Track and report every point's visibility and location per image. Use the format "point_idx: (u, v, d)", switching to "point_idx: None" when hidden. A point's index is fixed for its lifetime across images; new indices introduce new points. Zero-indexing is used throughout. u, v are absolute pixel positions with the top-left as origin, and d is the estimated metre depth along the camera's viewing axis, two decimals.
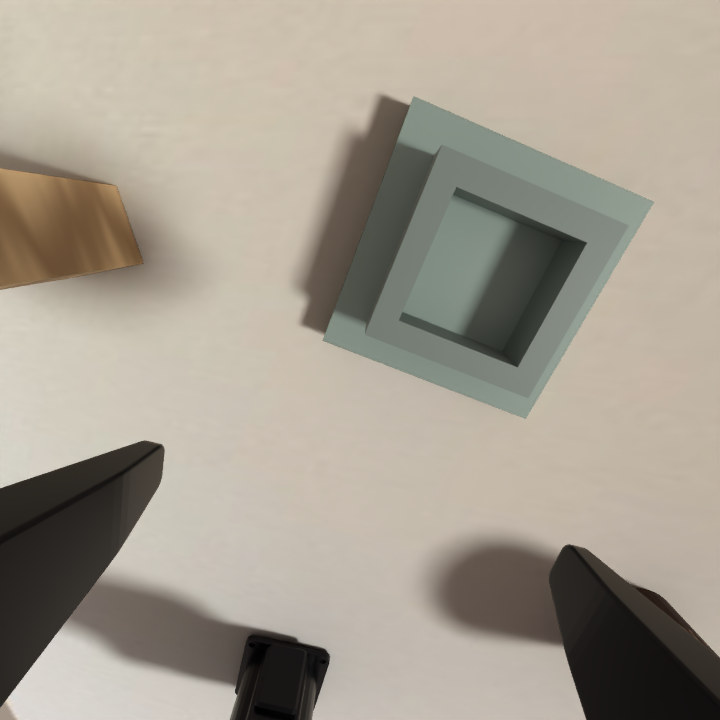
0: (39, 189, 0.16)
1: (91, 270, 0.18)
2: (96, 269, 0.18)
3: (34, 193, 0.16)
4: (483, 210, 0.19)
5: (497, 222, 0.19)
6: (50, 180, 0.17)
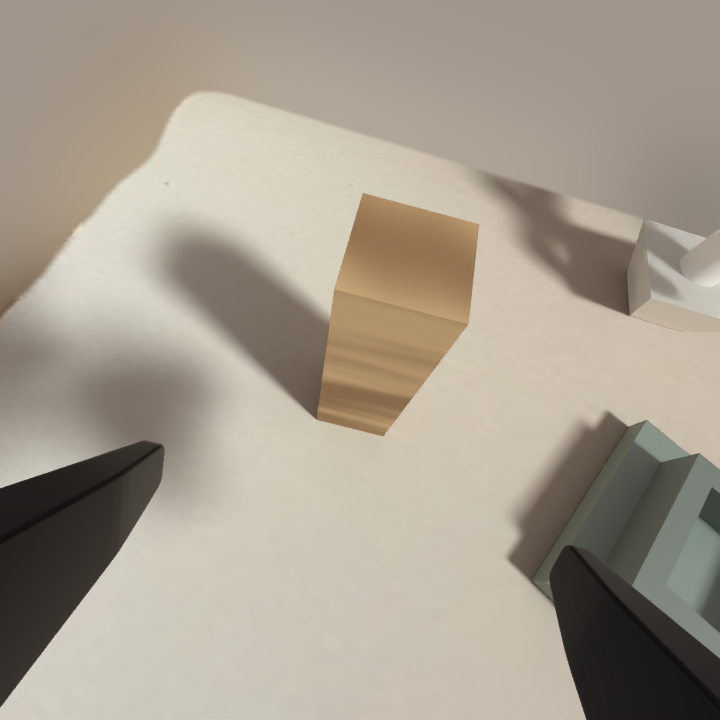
0: None
1: (399, 414, 0.20)
2: None
3: None
4: (701, 520, 0.22)
5: (712, 535, 0.22)
6: None
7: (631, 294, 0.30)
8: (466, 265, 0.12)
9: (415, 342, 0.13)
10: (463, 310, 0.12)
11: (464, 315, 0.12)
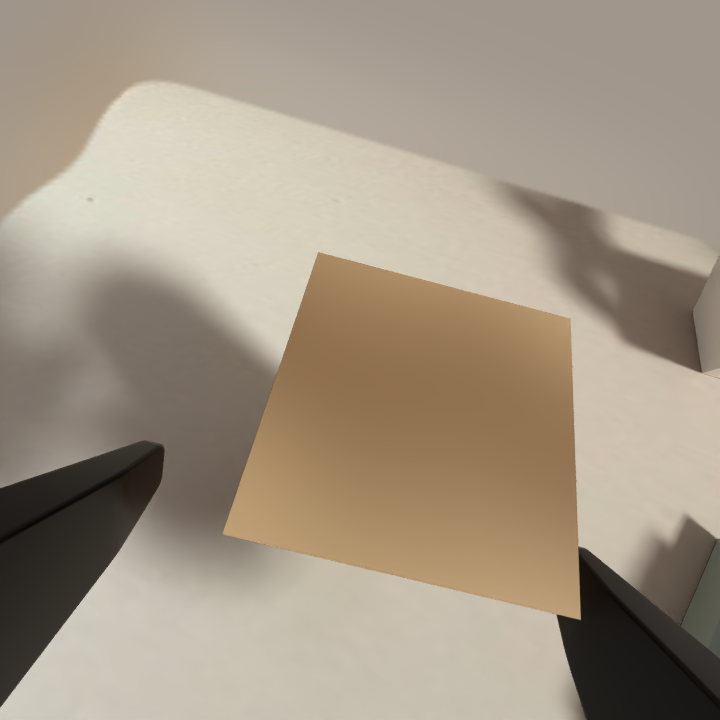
0: None
1: None
2: None
3: None
4: None
5: None
6: None
7: (704, 344, 0.23)
8: (555, 429, 0.05)
9: None
10: (564, 574, 0.05)
11: (567, 589, 0.04)
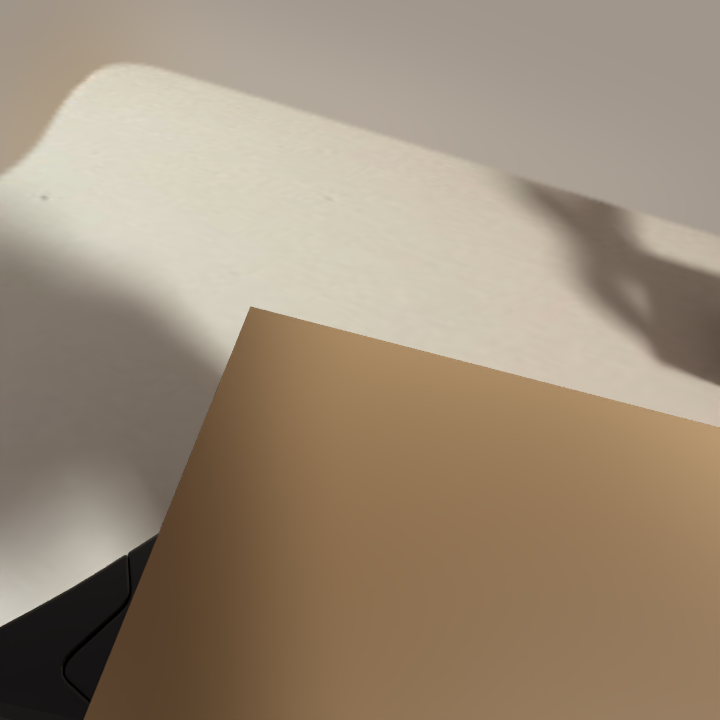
0: None
1: None
2: None
3: None
4: None
5: None
6: None
7: None
8: None
9: None
10: None
11: None
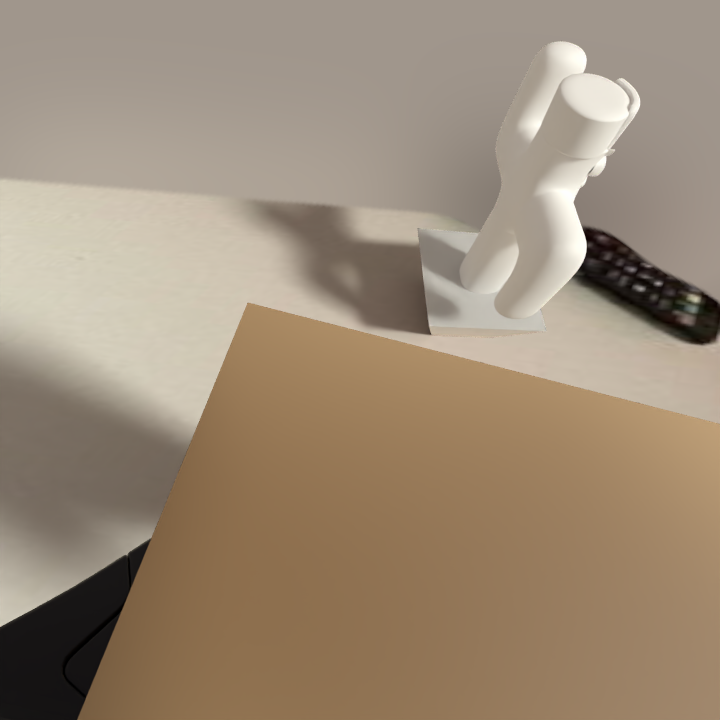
0: None
1: None
2: None
3: None
4: None
5: None
6: None
7: None
8: None
9: None
10: None
11: None
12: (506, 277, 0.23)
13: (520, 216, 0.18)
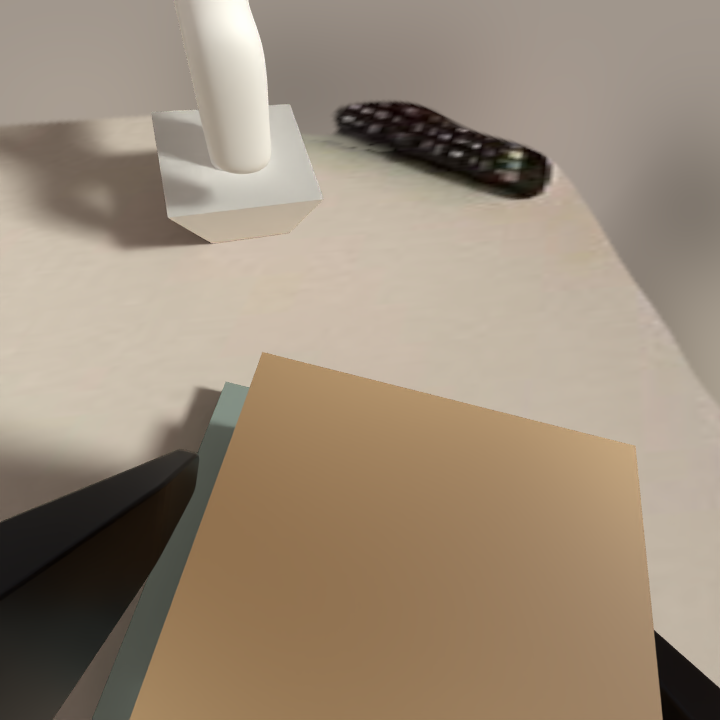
0: None
1: None
2: None
3: None
4: None
5: None
6: None
7: None
8: (627, 654, 0.03)
9: None
10: None
11: None
12: None
13: (180, 16, 0.13)
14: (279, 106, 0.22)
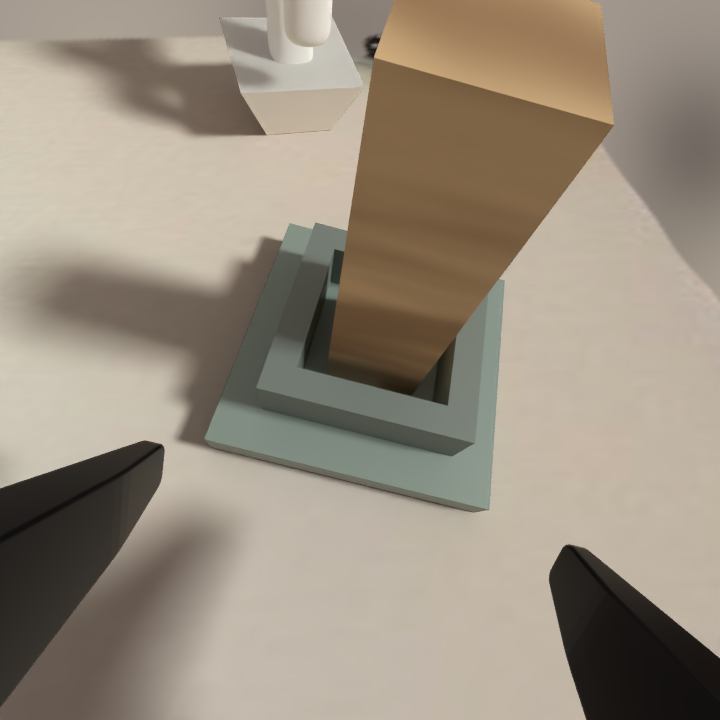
0: None
1: (440, 356, 0.14)
2: (437, 359, 0.15)
3: None
4: None
5: None
6: None
7: None
8: (592, 50, 0.07)
9: (500, 193, 0.08)
10: (602, 105, 0.07)
11: (604, 113, 0.07)
12: None
13: None
14: None
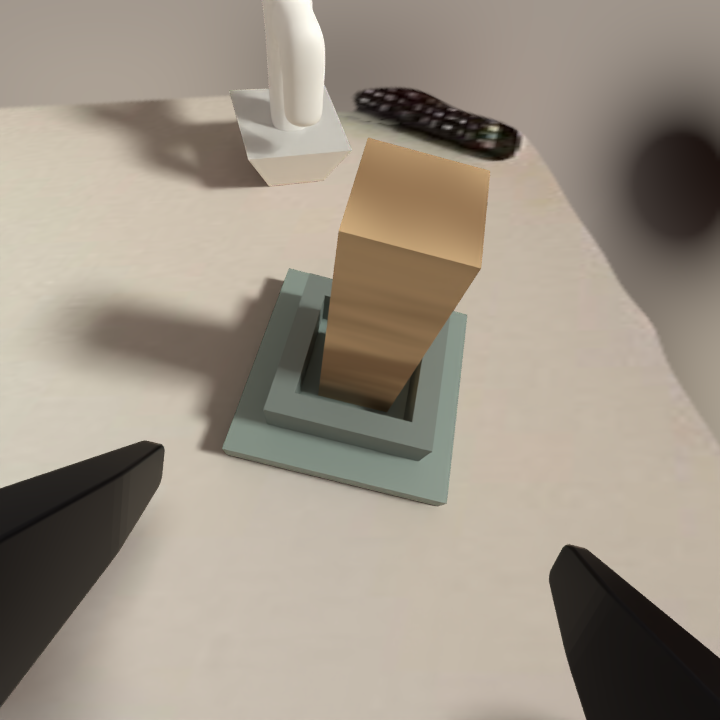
0: None
1: (404, 385, 0.19)
2: (402, 387, 0.19)
3: None
4: None
5: None
6: None
7: None
8: (477, 210, 0.12)
9: (424, 294, 0.12)
10: (475, 254, 0.11)
11: (476, 259, 0.11)
12: None
13: (273, 24, 0.22)
14: None
